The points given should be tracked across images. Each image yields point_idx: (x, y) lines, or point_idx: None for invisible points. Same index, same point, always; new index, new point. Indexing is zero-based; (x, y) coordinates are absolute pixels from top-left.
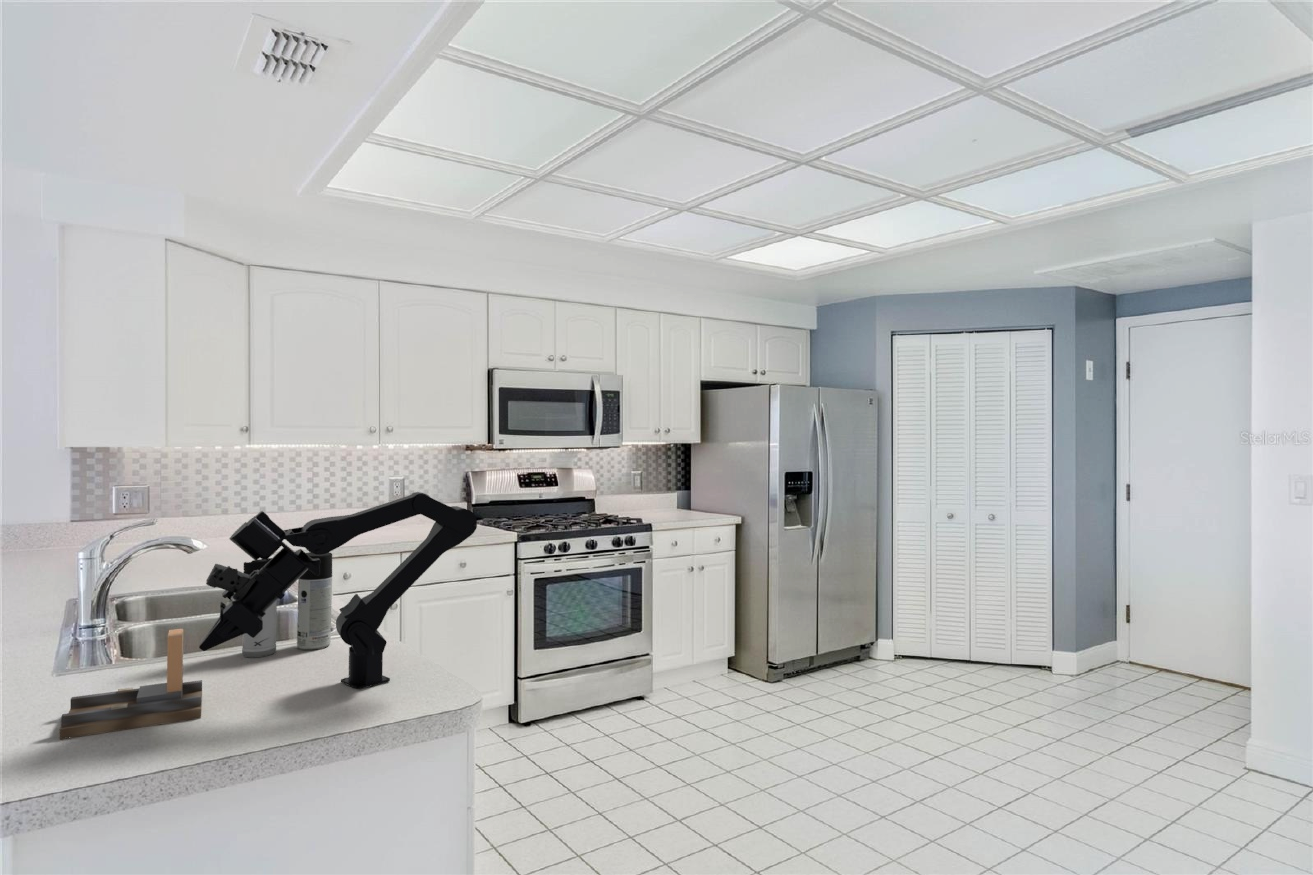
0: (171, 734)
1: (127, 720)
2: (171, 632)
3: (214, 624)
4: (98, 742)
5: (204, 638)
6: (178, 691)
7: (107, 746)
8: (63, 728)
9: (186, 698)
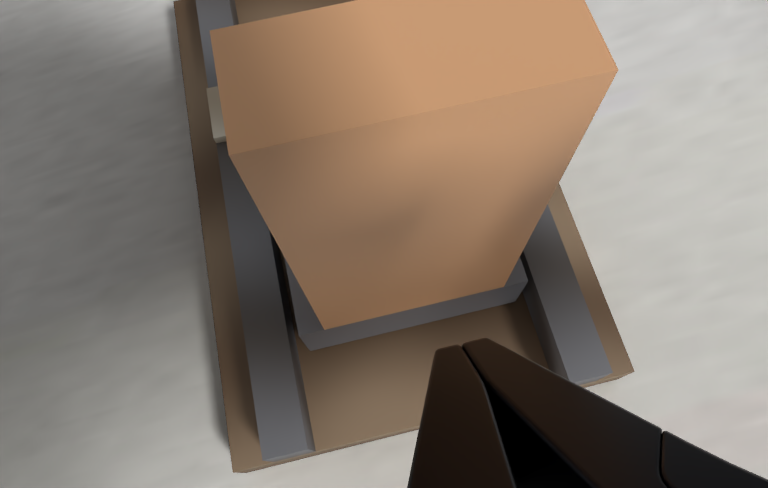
0: (66, 393)
1: (197, 180)
2: (426, 9)
3: (684, 471)
4: (102, 149)
5: (525, 368)
6: (313, 317)
7: (41, 192)
8: (180, 8)
9: (263, 379)
